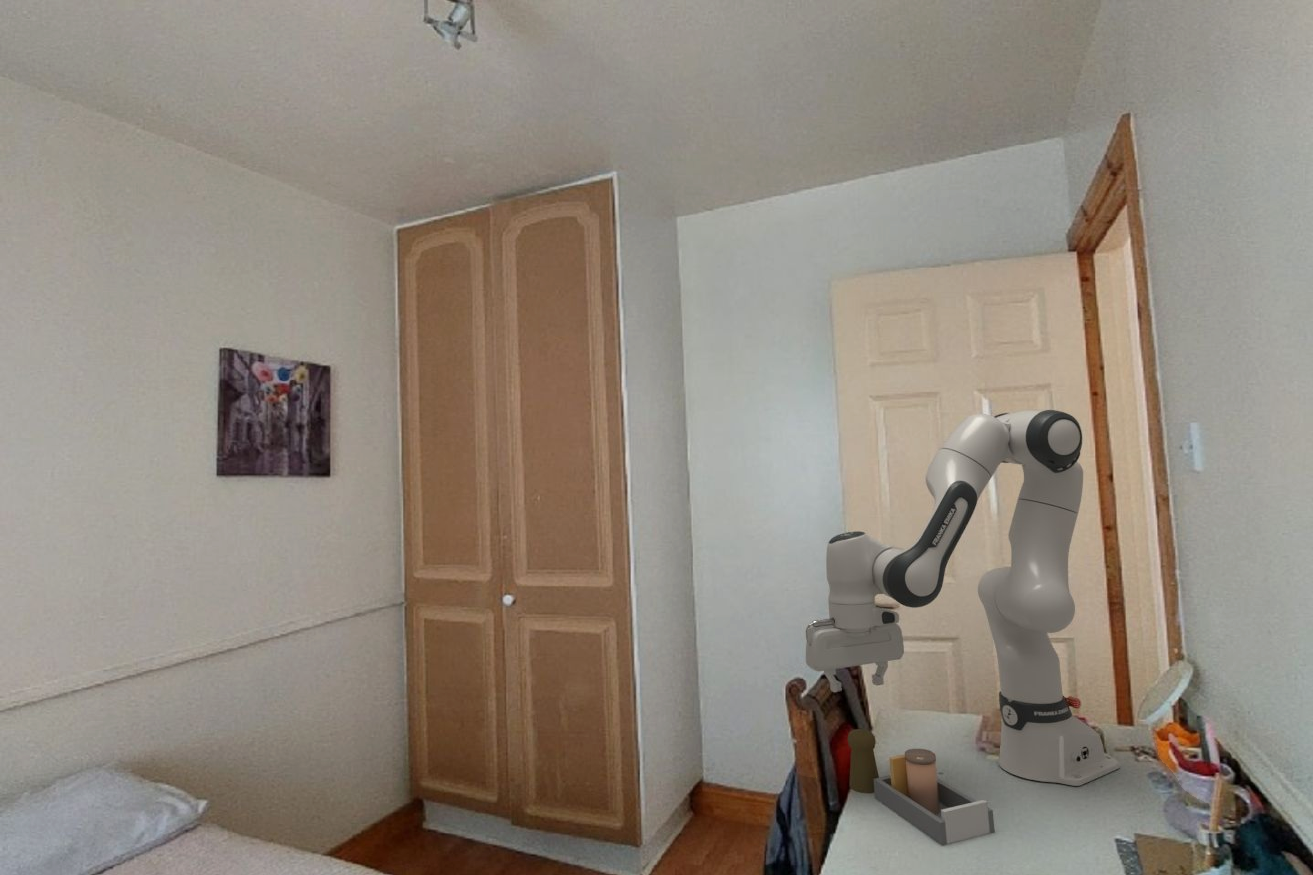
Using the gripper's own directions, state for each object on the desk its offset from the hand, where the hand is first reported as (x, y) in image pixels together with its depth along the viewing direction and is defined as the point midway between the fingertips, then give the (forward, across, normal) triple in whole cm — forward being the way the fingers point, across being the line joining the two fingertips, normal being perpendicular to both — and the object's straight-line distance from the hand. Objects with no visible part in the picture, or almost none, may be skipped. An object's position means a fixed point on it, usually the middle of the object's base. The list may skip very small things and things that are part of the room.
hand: (857, 687), depth 134 cm
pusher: (+19, +4, -9) cm, 22 cm away
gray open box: (+19, +4, -14) cm, 24 cm away
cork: (+20, 0, 0) cm, 20 cm away
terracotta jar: (+19, +4, -12) cm, 23 cm away
